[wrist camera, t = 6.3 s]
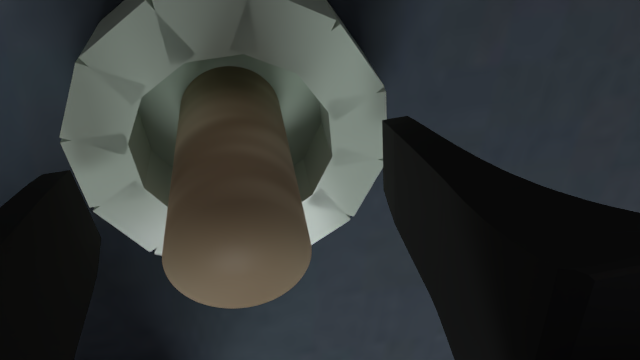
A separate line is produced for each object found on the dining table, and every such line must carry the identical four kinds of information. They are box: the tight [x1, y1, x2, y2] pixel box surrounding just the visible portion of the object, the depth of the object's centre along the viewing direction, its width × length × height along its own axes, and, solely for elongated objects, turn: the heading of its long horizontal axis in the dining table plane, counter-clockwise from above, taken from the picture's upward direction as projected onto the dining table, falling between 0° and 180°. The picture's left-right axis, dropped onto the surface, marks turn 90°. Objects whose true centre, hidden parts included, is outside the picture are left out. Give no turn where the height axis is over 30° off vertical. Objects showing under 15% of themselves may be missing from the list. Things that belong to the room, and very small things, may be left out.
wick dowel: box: [162, 66, 311, 308], centre depth 12 cm, size 3×3×6 cm
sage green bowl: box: [59, 0, 387, 256], centre depth 14 cm, size 8×8×2 cm
